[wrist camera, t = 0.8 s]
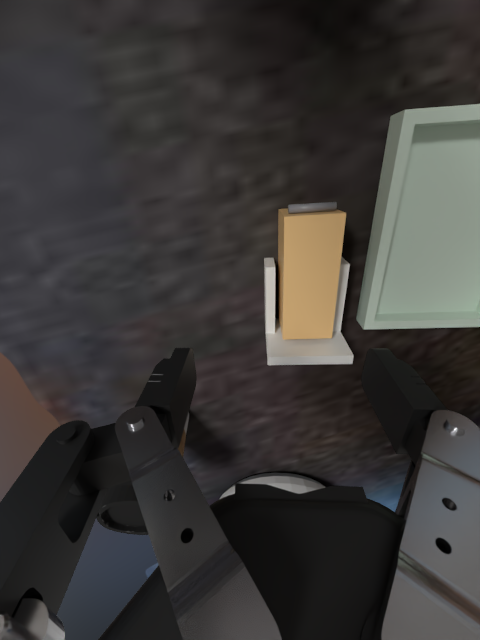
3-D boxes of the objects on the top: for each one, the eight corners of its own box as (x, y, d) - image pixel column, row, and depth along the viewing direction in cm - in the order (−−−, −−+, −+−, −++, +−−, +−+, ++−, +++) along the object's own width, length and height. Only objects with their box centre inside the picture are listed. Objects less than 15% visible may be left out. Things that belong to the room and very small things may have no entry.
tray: (390, 116, 23) (405, 109, 21) (564, 103, 22) (598, 94, 20) (356, 319, 33) (363, 329, 30) (477, 316, 32) (494, 326, 29)
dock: (264, 258, 30) (267, 283, 22) (339, 255, 29) (367, 279, 22) (264, 325, 34) (267, 365, 27) (331, 324, 33) (352, 364, 26)
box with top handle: (278, 201, 27) (284, 206, 22) (329, 197, 27) (347, 202, 21) (278, 313, 33) (282, 339, 28) (319, 312, 33) (331, 338, 27)
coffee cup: (149, 386, 39) (96, 492, 26) (204, 403, 40) (179, 512, 27) (139, 423, 43) (89, 531, 30) (189, 437, 44) (162, 547, 31)
